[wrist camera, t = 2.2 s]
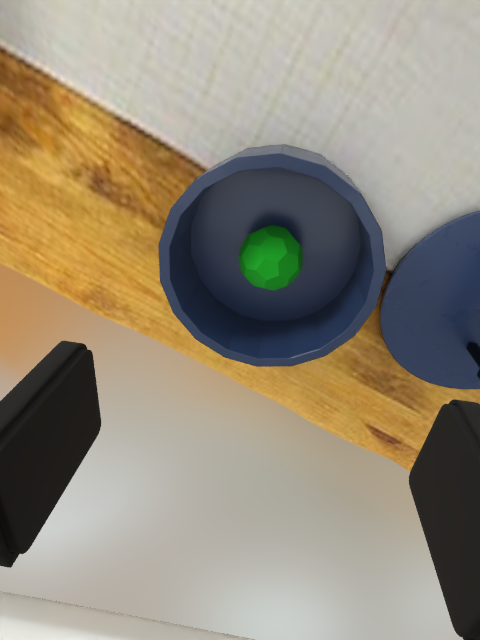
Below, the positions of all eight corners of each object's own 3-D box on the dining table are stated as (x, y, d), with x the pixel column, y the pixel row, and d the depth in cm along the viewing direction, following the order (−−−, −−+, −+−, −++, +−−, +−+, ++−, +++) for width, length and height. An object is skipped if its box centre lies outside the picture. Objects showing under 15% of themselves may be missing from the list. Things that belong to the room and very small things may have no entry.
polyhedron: (315, 251, 31) (317, 274, 27) (270, 286, 33) (265, 312, 29) (275, 205, 30) (271, 221, 25) (231, 244, 32) (220, 265, 28)
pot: (392, 153, 27) (416, 164, 22) (347, 337, 35) (355, 380, 29) (181, 135, 28) (153, 142, 23) (184, 316, 36) (163, 353, 31)
